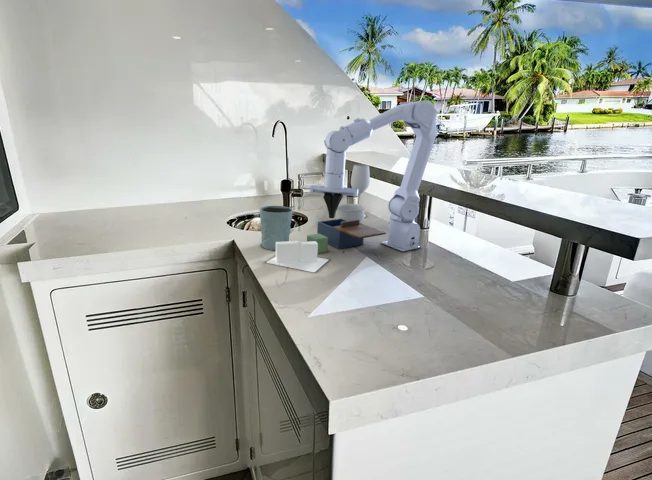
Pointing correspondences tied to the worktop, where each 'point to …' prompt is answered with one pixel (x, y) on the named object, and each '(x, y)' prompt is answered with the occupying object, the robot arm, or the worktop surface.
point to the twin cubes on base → (298, 255)
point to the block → (319, 241)
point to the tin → (337, 234)
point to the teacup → (350, 212)
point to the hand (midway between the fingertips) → (332, 217)
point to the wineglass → (360, 179)
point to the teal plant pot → (275, 225)
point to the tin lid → (358, 229)
